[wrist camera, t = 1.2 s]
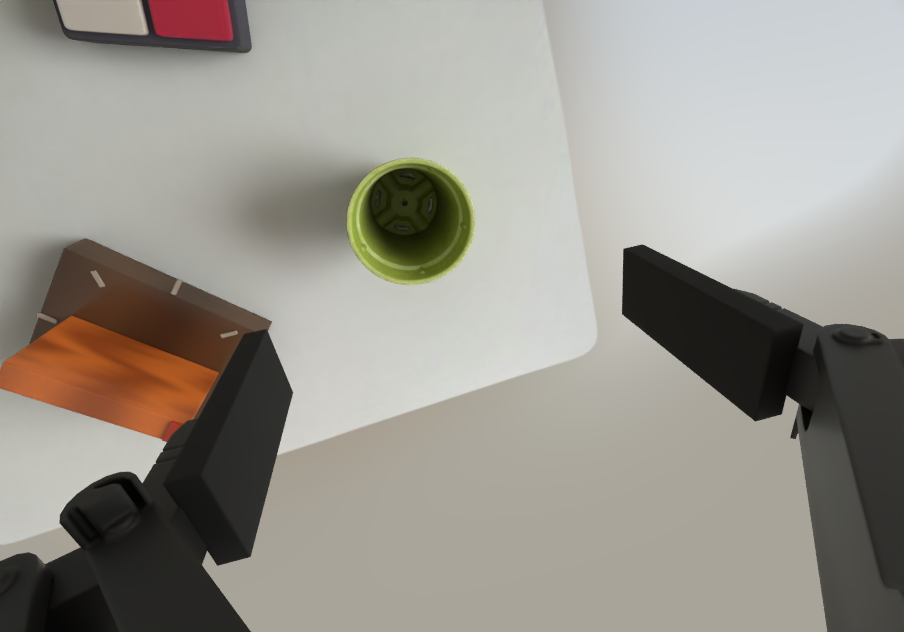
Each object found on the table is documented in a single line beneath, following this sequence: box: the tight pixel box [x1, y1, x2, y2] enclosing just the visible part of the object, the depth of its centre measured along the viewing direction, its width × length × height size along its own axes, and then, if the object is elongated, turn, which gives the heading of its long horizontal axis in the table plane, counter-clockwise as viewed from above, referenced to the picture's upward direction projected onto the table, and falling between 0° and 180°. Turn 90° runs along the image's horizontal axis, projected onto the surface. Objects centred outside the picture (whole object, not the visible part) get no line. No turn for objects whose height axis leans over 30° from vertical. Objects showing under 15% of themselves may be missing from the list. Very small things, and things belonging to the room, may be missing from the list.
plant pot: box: [347, 158, 475, 285], centre depth 35 cm, size 9×9×9 cm
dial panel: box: [30, 239, 272, 419], centre depth 39 cm, size 16×16×3 cm
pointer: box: [0, 316, 219, 442], centre depth 35 cm, size 12×2×8 cm, turn 57°
